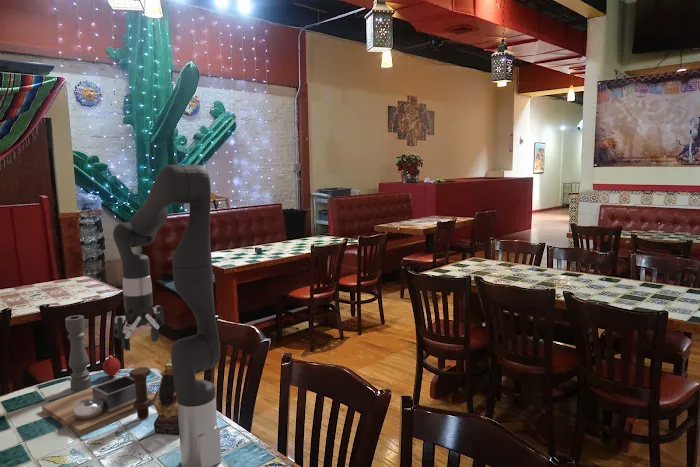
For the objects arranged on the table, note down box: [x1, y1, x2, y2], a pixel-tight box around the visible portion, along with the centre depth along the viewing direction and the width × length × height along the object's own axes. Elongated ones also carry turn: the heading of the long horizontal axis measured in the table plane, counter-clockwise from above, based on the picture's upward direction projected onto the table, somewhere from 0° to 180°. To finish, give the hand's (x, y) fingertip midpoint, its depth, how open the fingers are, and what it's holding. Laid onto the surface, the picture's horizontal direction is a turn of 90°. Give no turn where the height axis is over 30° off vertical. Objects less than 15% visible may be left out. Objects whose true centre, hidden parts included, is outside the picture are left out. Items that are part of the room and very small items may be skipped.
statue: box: [153, 358, 179, 436], centre depth 138 cm, size 12×8×20 cm, turn 76°
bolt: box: [128, 366, 152, 420], centre depth 145 cm, size 6×5×15 cm
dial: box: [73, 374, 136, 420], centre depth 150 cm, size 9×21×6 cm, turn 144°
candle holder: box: [64, 314, 92, 393], centre depth 165 cm, size 6×6×25 cm
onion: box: [102, 355, 121, 377], centre depth 175 cm, size 6×6×8 cm
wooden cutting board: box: [41, 376, 156, 437], centre depth 153 cm, size 25×25×2 cm
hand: (141, 345), depth 140 cm, fingers open, 8 cm apart
